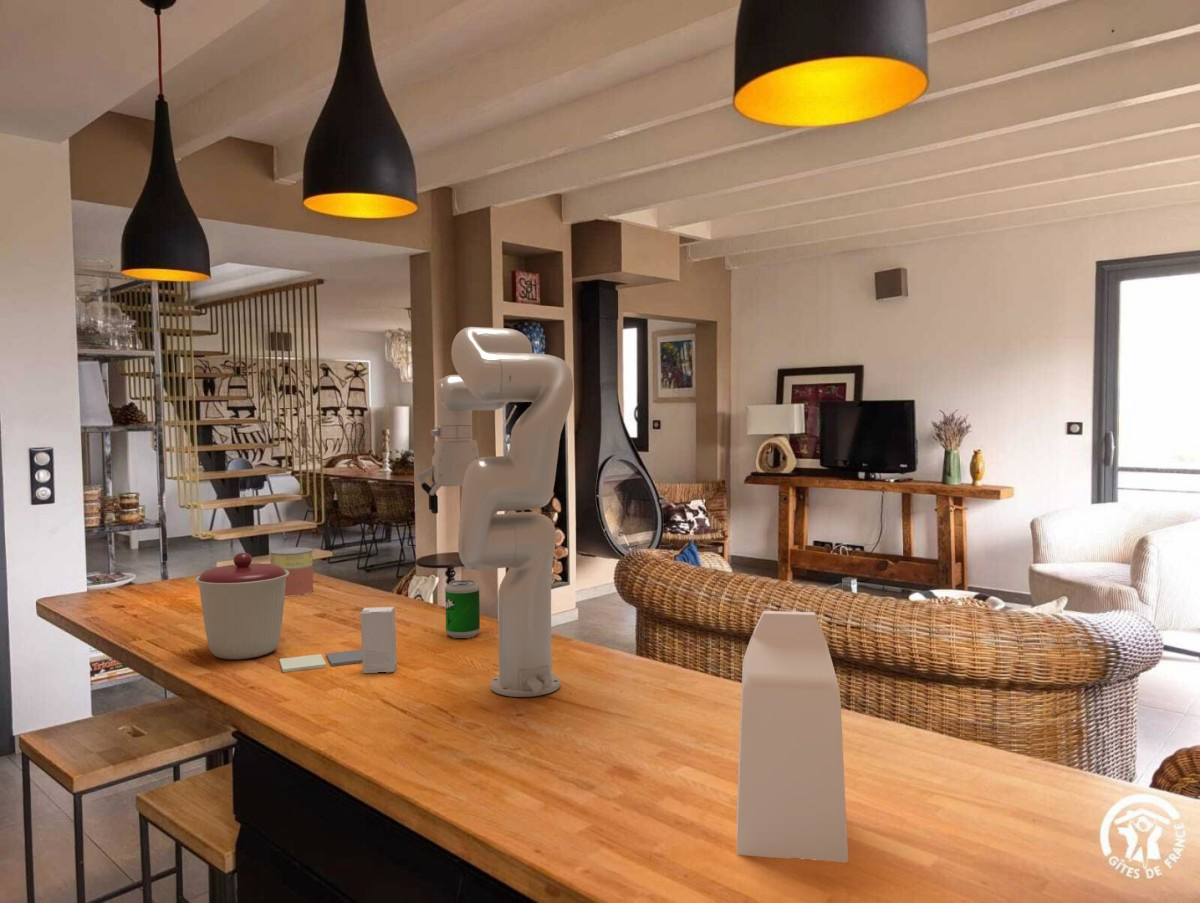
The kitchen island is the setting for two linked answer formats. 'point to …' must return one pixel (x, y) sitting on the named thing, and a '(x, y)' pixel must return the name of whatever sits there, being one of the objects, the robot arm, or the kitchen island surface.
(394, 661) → the skincare box
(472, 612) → the soda can
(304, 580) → the canned food
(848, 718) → the kitchen island surface
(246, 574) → the canister
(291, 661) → the sage pad
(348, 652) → the slate pad
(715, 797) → the kitchen island surface
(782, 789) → the milk
